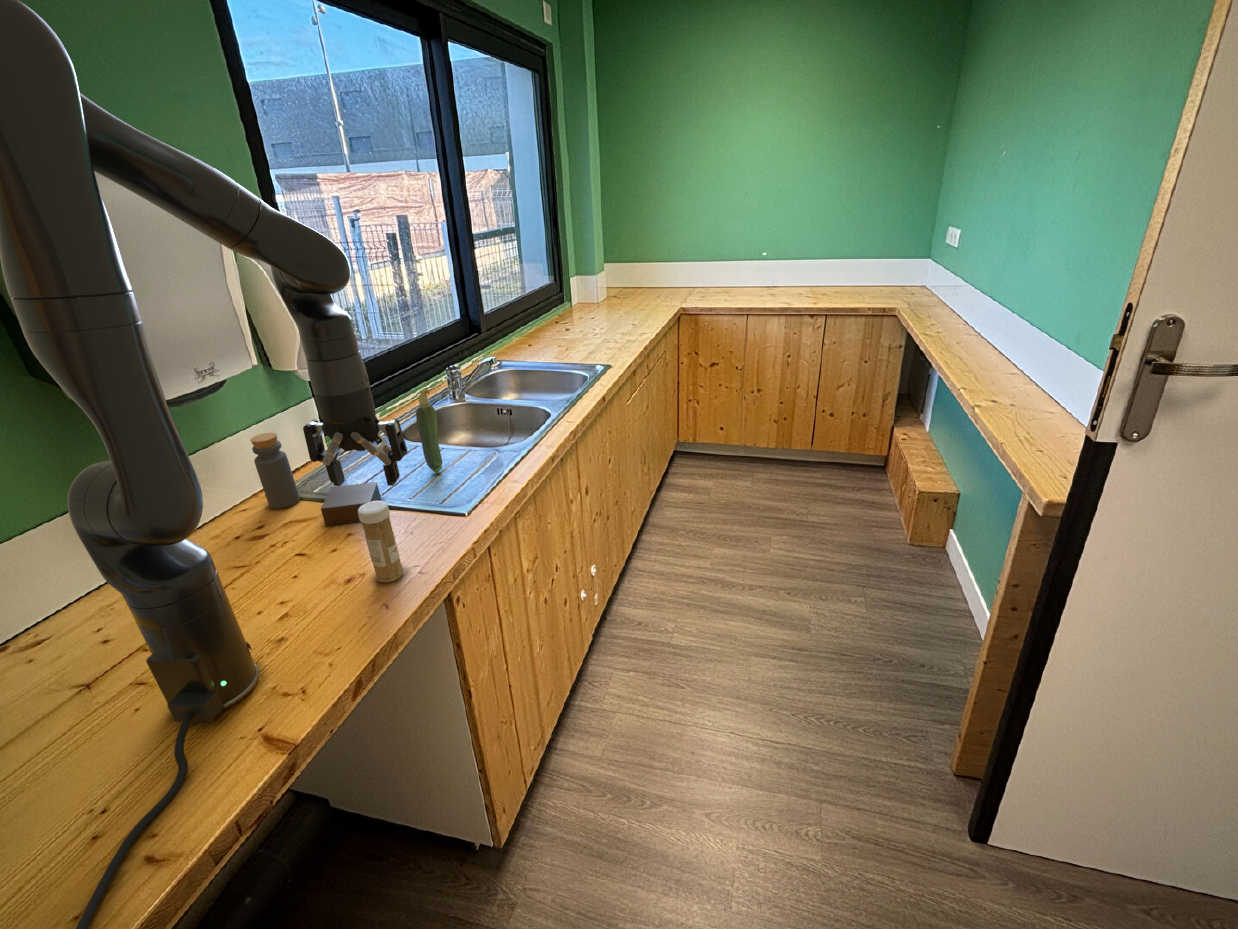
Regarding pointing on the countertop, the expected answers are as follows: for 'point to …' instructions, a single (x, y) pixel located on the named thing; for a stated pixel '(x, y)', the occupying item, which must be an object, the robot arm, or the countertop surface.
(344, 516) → the block
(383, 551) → the sprinkles bottle
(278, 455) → the bottle
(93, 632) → the countertop surface
